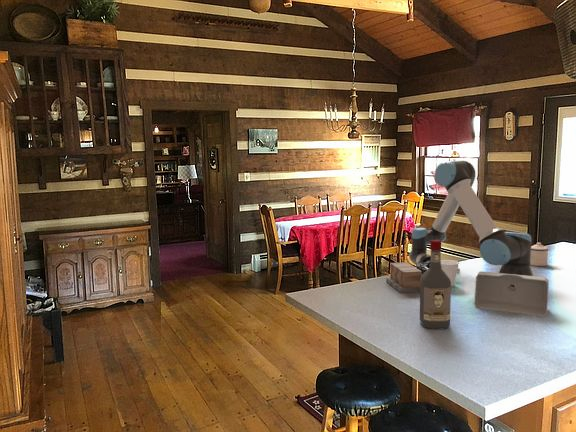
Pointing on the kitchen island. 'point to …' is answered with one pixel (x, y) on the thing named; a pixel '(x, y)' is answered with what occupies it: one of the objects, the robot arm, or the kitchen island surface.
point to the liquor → (435, 292)
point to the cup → (450, 269)
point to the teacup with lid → (539, 255)
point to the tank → (512, 293)
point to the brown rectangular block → (404, 277)
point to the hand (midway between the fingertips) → (444, 272)
